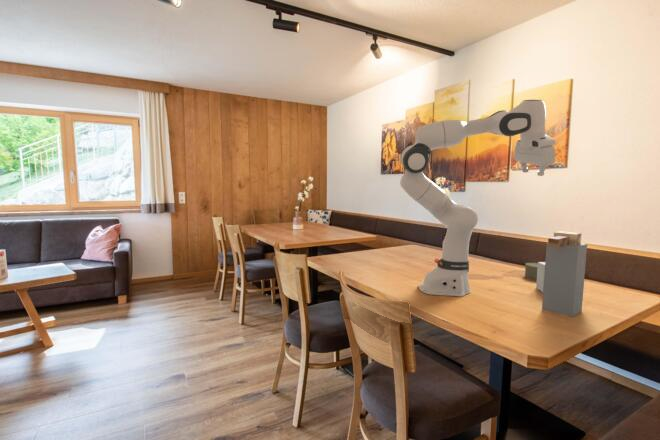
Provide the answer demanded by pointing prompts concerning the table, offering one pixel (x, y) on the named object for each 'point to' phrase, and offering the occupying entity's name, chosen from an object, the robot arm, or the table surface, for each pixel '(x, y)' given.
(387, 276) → the table surface
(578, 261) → the pedestal
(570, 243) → the mallet
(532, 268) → the olive green block
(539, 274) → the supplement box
